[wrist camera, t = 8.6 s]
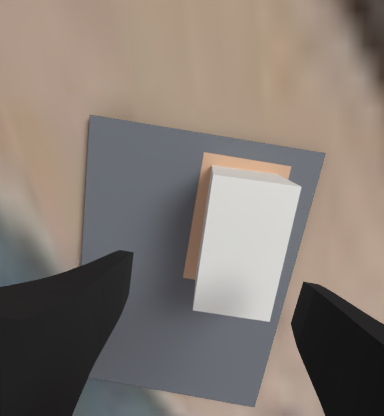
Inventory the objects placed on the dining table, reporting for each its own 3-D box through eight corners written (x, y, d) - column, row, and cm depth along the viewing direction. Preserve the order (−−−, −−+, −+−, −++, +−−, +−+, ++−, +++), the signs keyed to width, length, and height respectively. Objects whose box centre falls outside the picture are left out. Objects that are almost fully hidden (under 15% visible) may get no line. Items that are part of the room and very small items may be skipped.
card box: (277, 174, 18) (301, 186, 14) (255, 278, 21) (269, 321, 16) (211, 165, 19) (213, 174, 14) (196, 270, 21) (192, 310, 16)
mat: (253, 400, 24) (254, 407, 24) (77, 369, 24) (74, 375, 24) (322, 152, 19) (326, 153, 18) (93, 115, 19) (89, 114, 18)
